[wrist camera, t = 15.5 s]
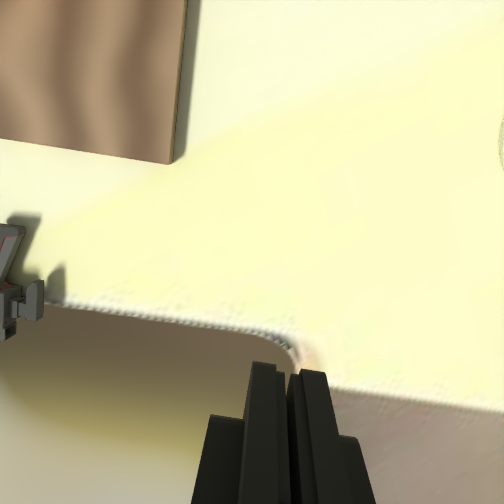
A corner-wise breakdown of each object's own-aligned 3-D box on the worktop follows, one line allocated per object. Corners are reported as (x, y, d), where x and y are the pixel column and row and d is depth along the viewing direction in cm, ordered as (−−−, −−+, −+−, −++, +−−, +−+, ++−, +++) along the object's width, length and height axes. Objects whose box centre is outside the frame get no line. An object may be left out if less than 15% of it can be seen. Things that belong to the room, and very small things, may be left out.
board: (196, -85, 35) (192, -95, 33) (172, 163, 40) (168, 164, 39) (-23, -119, 35) (-36, -130, 33) (-17, 133, 40) (-28, 133, 39)
